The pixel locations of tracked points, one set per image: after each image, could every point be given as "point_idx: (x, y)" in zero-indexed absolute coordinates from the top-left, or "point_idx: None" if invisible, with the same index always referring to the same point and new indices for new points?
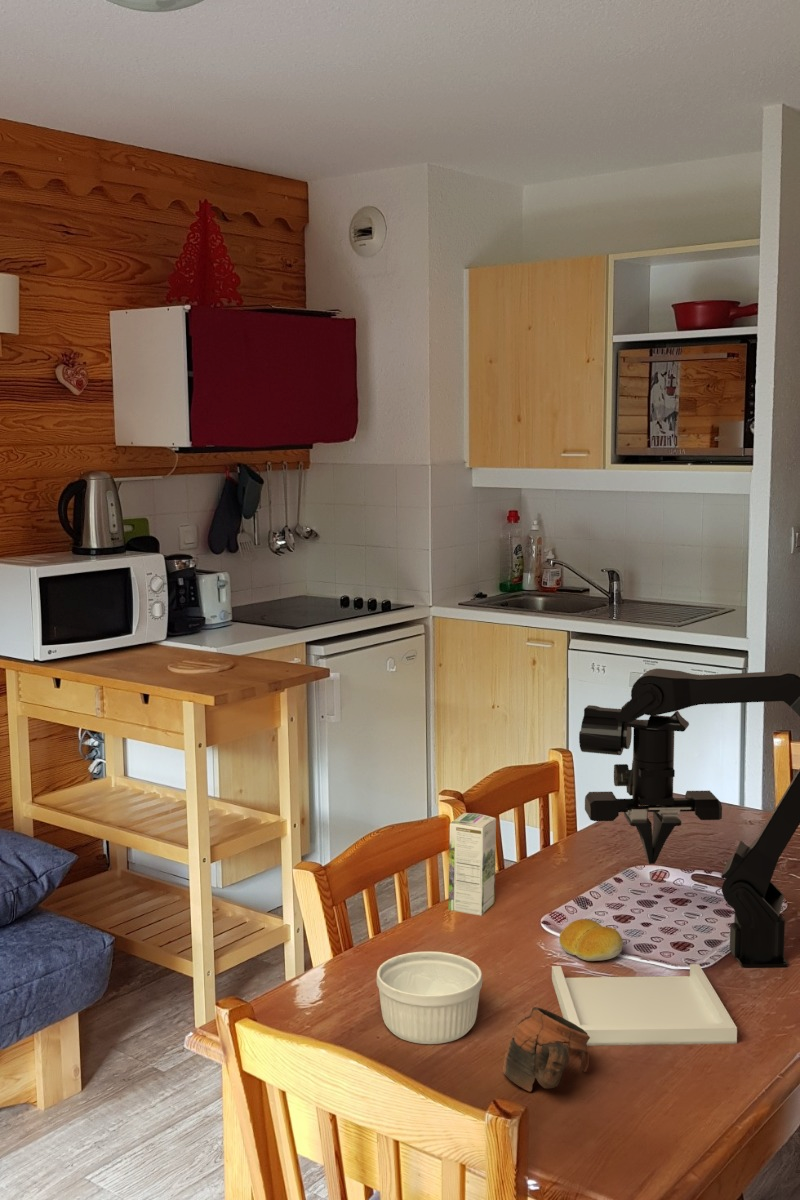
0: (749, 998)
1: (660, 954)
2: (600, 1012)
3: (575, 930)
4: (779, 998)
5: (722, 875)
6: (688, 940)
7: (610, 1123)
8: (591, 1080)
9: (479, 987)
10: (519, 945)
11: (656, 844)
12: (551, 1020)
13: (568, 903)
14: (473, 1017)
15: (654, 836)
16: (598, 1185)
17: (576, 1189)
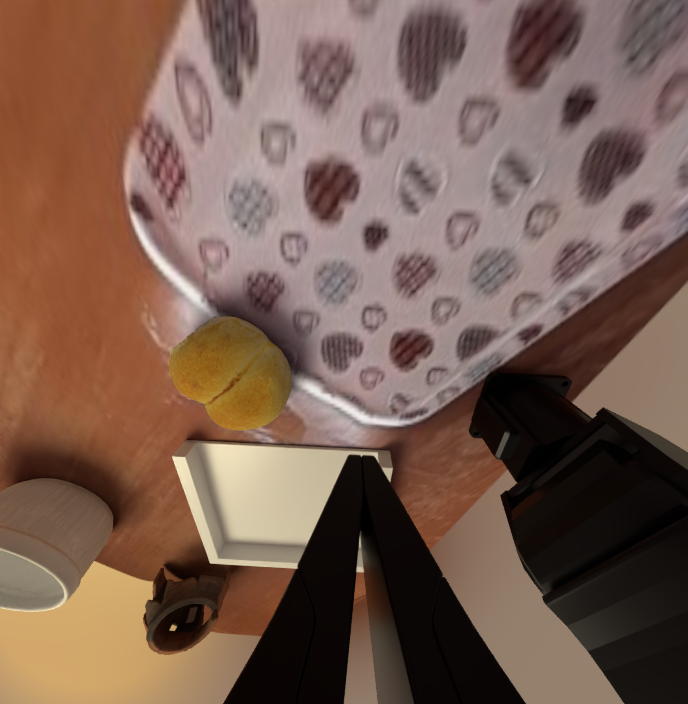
0: (430, 494)
1: (360, 379)
2: (247, 510)
3: (189, 396)
4: (466, 496)
5: (550, 608)
6: (432, 328)
7: (247, 605)
8: (235, 576)
9: (76, 585)
10: (111, 326)
11: (373, 643)
12: (168, 654)
13: (183, 37)
14: (104, 543)
15: (387, 663)
16: (237, 632)
17: (225, 633)
